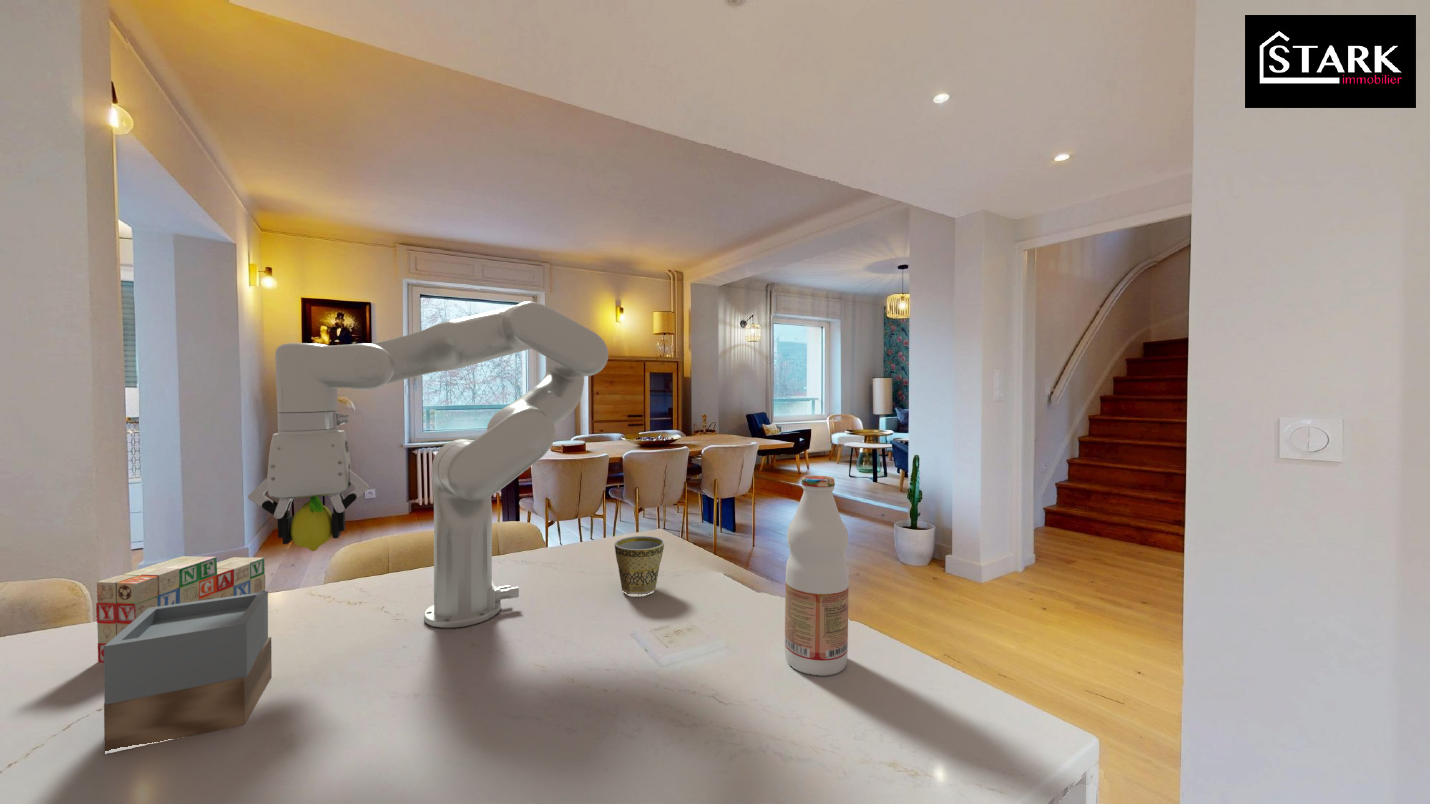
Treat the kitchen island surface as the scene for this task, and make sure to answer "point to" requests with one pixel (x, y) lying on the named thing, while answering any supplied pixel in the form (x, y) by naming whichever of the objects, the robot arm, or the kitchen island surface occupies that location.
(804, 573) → the fruit juice
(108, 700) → the tower top block
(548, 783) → the kitchen island surface
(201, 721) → the tower base block
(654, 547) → the ceramic cup
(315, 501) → the lemon
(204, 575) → the stack of blocks
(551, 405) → the robot arm
